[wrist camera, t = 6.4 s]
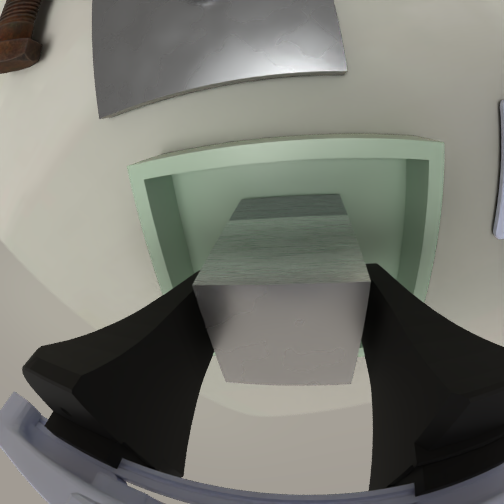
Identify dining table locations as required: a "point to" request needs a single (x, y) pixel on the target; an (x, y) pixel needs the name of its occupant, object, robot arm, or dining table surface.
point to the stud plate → (206, 46)
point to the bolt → (18, 35)
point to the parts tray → (296, 184)
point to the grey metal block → (285, 292)
